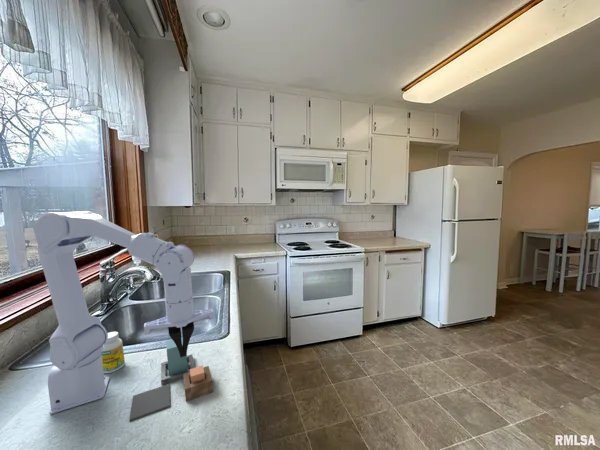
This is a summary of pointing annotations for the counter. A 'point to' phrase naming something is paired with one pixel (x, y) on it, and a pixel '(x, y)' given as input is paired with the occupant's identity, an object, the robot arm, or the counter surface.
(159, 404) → the rubber mat
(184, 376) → the housing
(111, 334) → the supplement bottle
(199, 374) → the orange block
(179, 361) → the pale teal upright block
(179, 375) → the holder collar
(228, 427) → the counter surface
